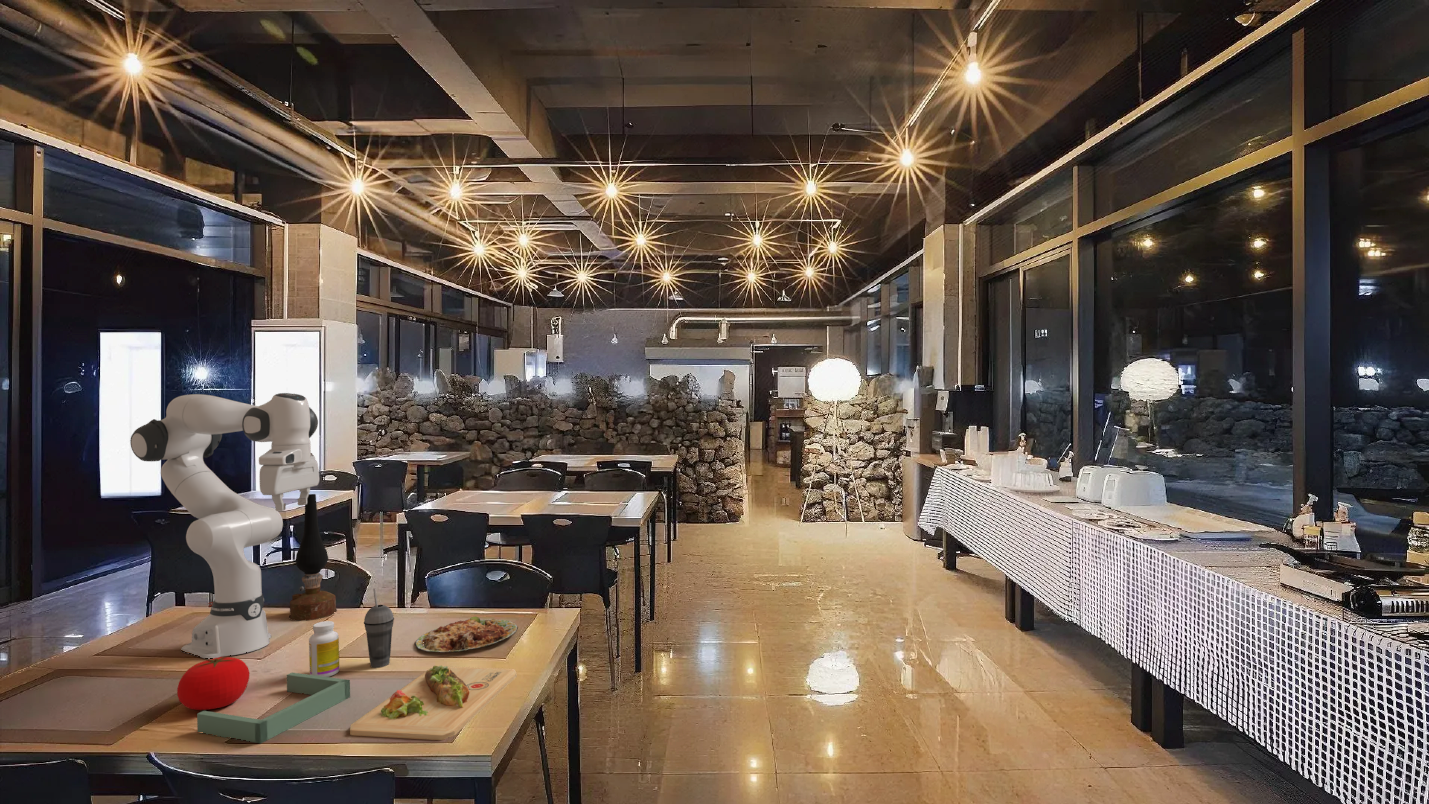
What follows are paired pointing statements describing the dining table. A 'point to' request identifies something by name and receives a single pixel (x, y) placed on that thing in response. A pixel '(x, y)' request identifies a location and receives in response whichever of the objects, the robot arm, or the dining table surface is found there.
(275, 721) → the corral
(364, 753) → the dining table surface
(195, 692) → the tomato
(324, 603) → the oil lamp
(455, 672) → the cutting board
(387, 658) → the beverage cup
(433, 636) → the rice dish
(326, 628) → the supplement bottle
